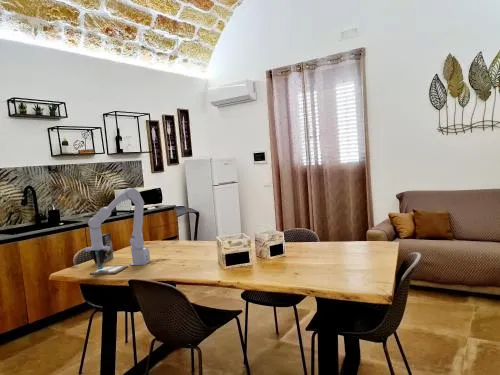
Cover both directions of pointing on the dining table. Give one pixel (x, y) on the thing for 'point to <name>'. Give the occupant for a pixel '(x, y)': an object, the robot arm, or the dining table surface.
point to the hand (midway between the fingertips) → (99, 263)
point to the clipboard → (109, 270)
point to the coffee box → (107, 242)
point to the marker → (98, 261)
